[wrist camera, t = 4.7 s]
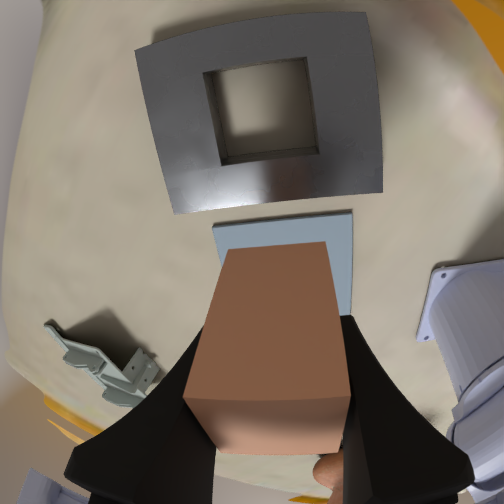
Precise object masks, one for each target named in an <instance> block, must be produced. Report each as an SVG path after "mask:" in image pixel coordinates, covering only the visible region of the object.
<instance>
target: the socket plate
mask: <svg viewBox="0 0 504 504" xmlns="http://www.w3.org/2000/svg"><path fill="white" fill-rule="evenodd" d="M134 51H135V56H136V61H137V66H138V71H139V76H140V81H141V85H142V90H143V95H144V99H145V104H146V108H147V112H148V117H149V121H150V125H151V129H152V133H153V137H154V141H155V145H156V149H157V153H158V157H159V161H160V165H161V168H162V172H163V176H164V180H165V183H166V187H167V190H168V194H169V197H170V201H171V204H172V208H173V211H174V215H175V214H182V213H189V212H197V211H204V210H211V209H219V208H227V207H235V206H243V205H252V204H260V203H269V202H279V201H288V200H298V199H308V198H319V197H331V196H343V195H356V194H369V193H383V160H382V135H381V119H380V106H379V96H378V86H377V77H376V69H375V62H374V55H373V49H372V42H371V37H370V31H369V26H368V20H367V15H366V12H316V13H300V14H288V15H278V16H270V17H263V18H256V19H249V20H244V21H238V22H233V23H228V24H223V25H218V26H214V27H209V28H205V29H201V30H197V31H193V32H189V33H186V34H182V35H179V36H175V37H172V38H169V39H166V40H162V41H159V42H156V43H153V44H150V45H148V46H145V47H142V48H139V49H137V50H134ZM294 60H304V63H305V69H306V75H307V82H308V88H309V95H310V102H311V110H312V117H313V125H314V133H315V142H316V147H306V148H296V149H287V150H278V151H270V152H262V153H254V154H247V155H240V156H233V157H228V156H227V151H226V146H225V141H224V136H223V131H222V126H221V121H220V116H219V111H218V106H217V100H216V95H215V90H214V85H213V80H212V75H211V73H216V72H221V71H226V70H231V69H237V68H242V67H248V66H254V65H261V64H268V63H276V62H285V61H294Z"/></svg>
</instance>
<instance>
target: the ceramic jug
mask: <svg viewBox="0 0 504 504" xmlns="http://www.w3.org/2000/svg"><path fill="white" fill-rule="evenodd" d="M313 476H314V479H315V480H316V481H317V482H318V483H320V484H322V485H324V486H326V487H328V488H330V489H331V490H332V491H333V493H332V495H331V497H330V499H329V501H328V503H327V504H342V503H343V448H340V449H339V450H338V452H337V453H329V454H327V455H325V456H324V457H322V458H321V459H320V460H318V461H317V463H316V464H315V466H314V468H313Z"/></svg>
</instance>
